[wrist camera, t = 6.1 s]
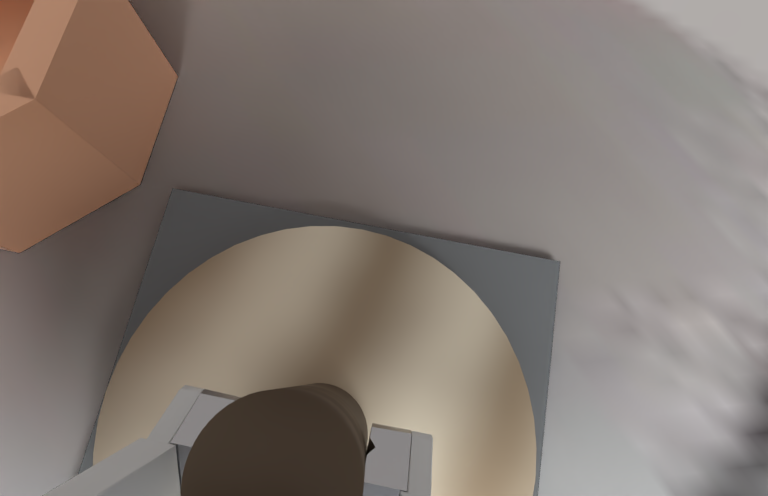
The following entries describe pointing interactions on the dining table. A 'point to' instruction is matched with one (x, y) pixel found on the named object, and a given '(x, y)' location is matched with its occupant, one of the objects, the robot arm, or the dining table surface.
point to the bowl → (73, 111)
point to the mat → (469, 262)
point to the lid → (326, 369)
